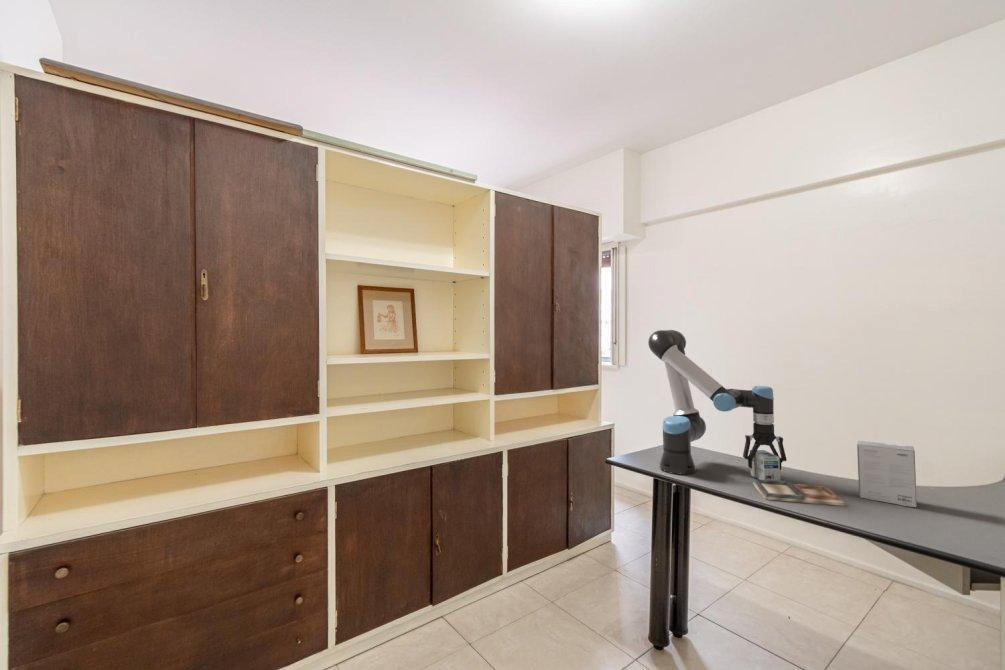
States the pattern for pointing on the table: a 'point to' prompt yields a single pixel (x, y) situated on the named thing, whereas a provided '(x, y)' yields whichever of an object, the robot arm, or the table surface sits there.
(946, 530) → the table surface
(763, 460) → the light bulb box
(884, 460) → the hard drive box
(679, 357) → the robot arm
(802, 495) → the sorting board
